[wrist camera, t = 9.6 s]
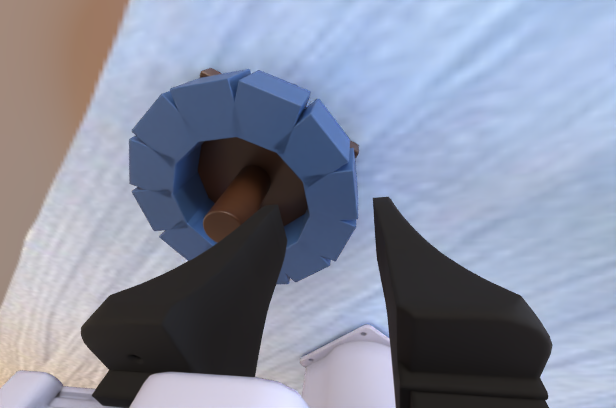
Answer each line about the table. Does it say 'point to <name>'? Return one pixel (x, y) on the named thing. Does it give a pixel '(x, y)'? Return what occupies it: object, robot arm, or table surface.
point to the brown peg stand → (246, 182)
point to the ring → (260, 131)
